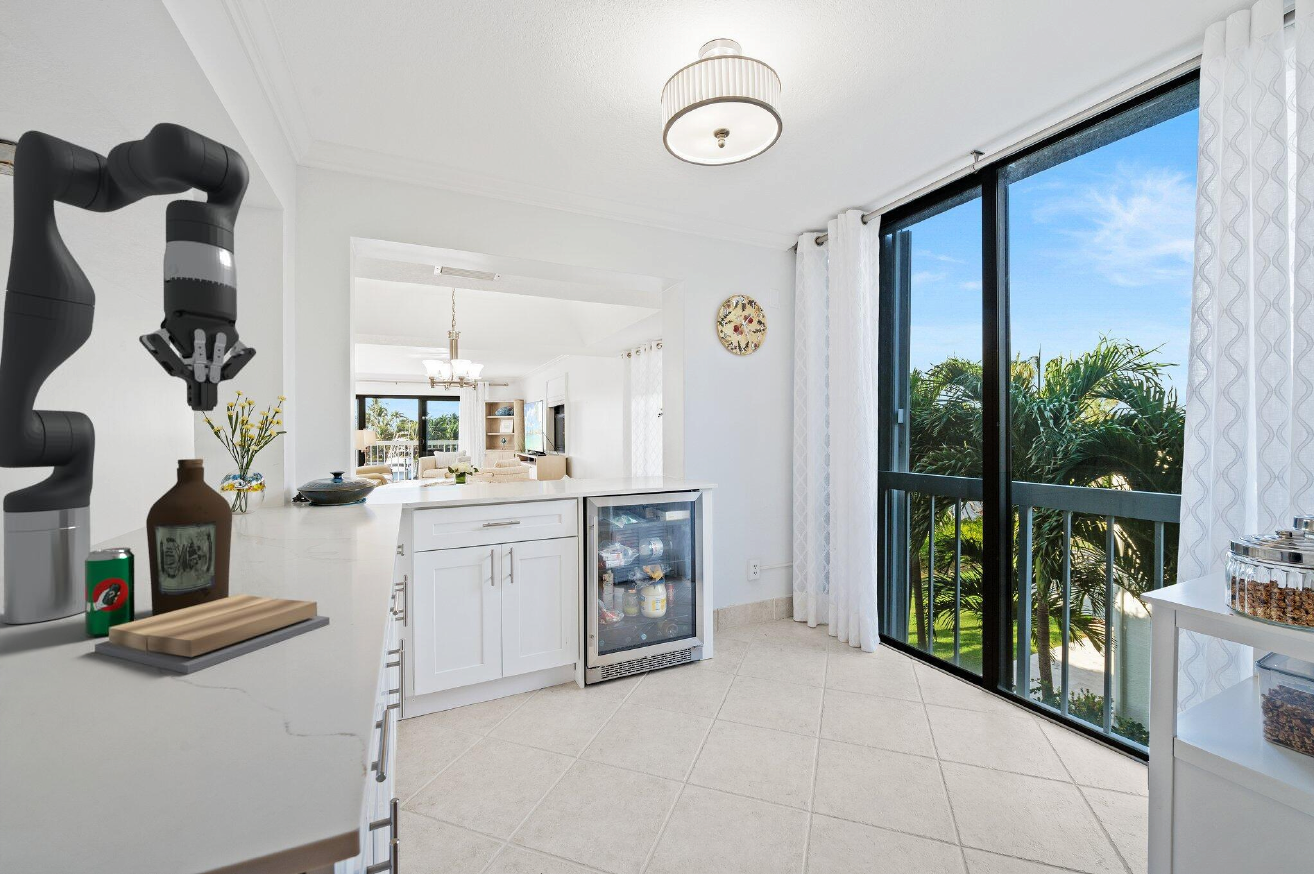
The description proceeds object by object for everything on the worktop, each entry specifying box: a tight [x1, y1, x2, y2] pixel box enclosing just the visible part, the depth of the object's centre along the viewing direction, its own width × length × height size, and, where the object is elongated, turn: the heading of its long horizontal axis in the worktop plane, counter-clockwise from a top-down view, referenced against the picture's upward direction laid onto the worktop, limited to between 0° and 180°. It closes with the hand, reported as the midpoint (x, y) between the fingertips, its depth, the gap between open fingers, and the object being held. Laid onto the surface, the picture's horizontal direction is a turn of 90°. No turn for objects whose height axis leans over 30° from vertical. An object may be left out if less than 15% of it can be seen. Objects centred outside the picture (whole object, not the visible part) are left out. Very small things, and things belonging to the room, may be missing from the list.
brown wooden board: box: [147, 598, 318, 657], centre depth 73 cm, size 9×16×2 cm, turn 159°
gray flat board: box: [94, 615, 330, 675], centre depth 75 cm, size 20×18×1 cm
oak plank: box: [108, 593, 275, 651], centre depth 76 cm, size 8×16×2 cm, turn 159°
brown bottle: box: [145, 458, 233, 617], centre depth 87 cm, size 11×11×25 cm
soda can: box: [84, 547, 136, 638], centre depth 77 cm, size 5×5×12 cm
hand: (202, 410), depth 71 cm, fingers closed
